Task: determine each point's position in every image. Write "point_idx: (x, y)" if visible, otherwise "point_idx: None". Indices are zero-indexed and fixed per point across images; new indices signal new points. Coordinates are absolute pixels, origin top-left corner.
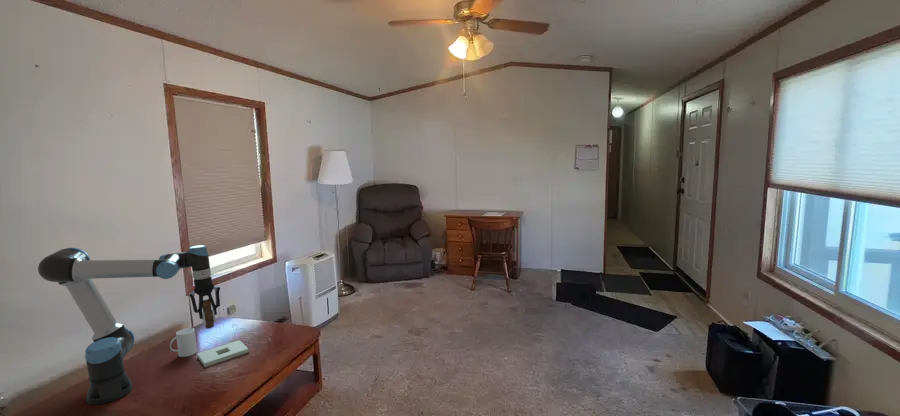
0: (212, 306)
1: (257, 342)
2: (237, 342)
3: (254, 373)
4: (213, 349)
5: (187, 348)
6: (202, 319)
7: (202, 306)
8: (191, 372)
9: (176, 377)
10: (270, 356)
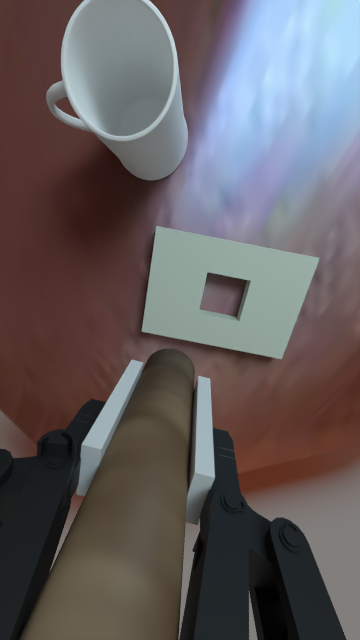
0: (210, 520)
1: (348, 309)
2: (300, 272)
3: None
4: (211, 248)
5: (132, 167)
6: (118, 386)
7: (54, 565)
8: (106, 322)
9: (66, 313)
10: (288, 427)
